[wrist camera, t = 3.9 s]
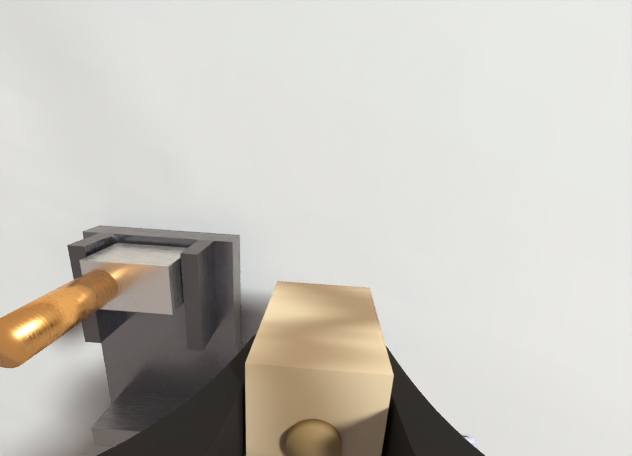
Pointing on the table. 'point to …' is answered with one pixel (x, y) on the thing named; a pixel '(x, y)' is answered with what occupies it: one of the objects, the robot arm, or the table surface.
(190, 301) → the press frame
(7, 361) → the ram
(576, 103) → the table surface
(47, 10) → the table surface
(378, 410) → the light wooden block
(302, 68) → the table surface
